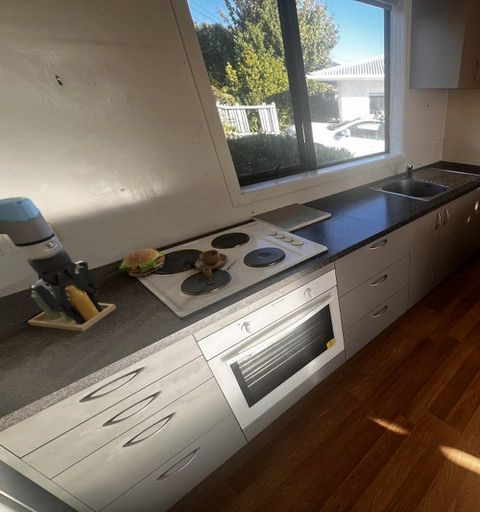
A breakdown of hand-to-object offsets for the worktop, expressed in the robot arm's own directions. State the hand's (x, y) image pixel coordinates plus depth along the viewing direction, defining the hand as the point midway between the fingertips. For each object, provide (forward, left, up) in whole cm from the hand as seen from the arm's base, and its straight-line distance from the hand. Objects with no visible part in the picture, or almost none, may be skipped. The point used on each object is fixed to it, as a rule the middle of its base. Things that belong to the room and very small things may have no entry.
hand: (90, 317), depth 91 cm
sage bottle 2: (-6, 0, 0) cm, 6 cm away
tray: (-6, 0, -1) cm, 6 cm away
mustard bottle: (0, 0, 0) cm, 0 cm away
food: (-7, +28, -1) cm, 29 cm away
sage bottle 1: (-12, 0, 0) cm, 12 cm away
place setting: (+18, +31, -1) cm, 36 cm away
